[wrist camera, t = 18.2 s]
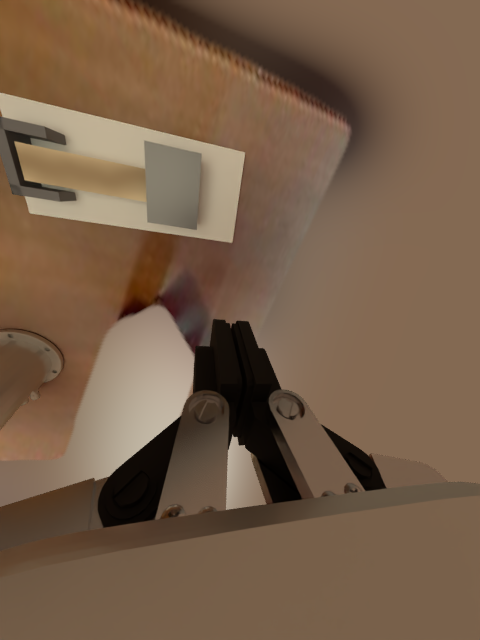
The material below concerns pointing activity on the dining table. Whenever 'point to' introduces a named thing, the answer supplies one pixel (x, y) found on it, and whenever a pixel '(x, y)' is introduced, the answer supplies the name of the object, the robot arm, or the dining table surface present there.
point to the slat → (81, 172)
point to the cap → (172, 185)
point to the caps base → (120, 147)
